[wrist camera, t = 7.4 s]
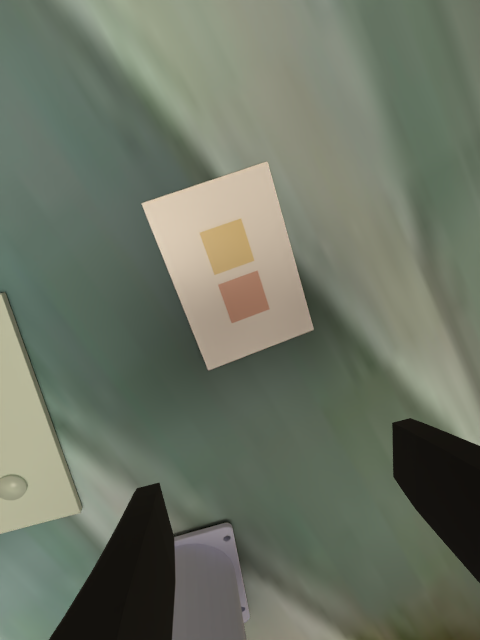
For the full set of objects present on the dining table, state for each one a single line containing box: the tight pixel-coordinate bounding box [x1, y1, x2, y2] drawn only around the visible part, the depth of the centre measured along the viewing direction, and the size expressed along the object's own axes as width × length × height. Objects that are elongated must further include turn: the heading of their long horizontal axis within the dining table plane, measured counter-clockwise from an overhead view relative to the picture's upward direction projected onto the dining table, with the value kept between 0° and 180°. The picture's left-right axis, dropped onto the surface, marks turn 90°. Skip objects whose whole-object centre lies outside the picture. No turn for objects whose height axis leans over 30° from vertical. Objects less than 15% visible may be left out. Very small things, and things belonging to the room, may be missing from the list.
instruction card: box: [141, 161, 314, 371], centre depth 18 cm, size 10×7×1 cm
